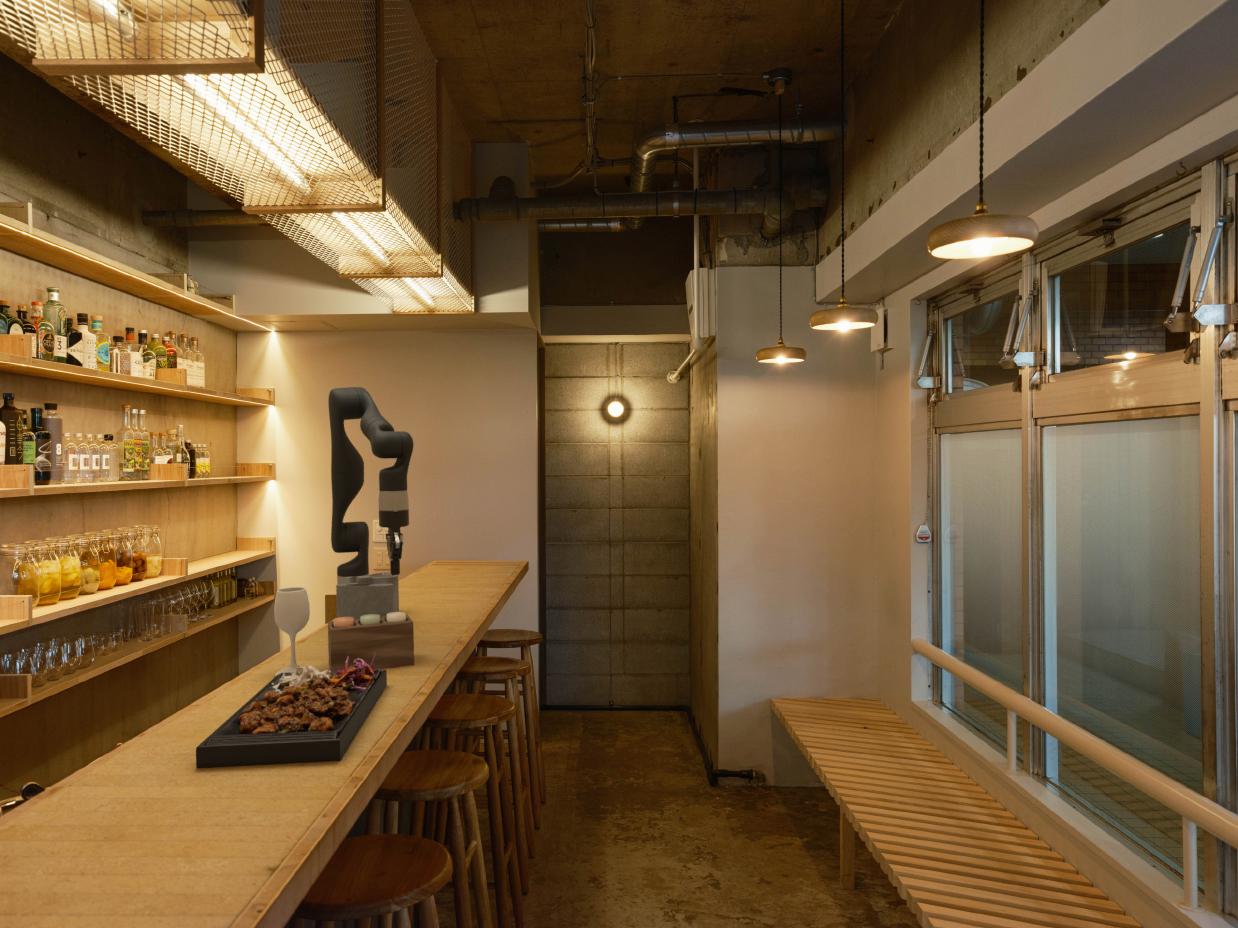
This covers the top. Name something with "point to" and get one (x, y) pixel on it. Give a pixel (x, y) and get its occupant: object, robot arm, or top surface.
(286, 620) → the white bowl
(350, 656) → the three egg wooden crate
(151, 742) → the top surface
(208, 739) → the food platter
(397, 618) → the pale beige egg
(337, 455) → the robot arm
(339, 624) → the orange brown egg
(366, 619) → the pale green egg
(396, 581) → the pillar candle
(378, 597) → the hip flask
